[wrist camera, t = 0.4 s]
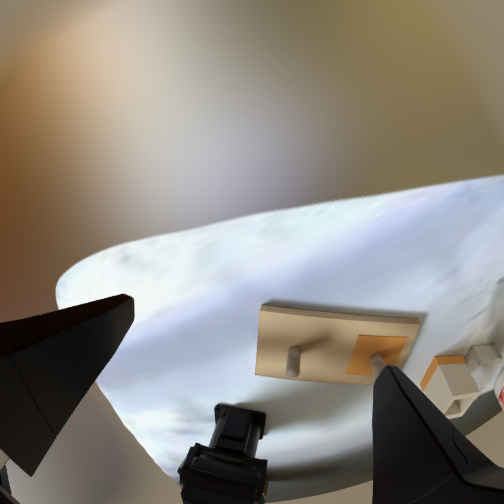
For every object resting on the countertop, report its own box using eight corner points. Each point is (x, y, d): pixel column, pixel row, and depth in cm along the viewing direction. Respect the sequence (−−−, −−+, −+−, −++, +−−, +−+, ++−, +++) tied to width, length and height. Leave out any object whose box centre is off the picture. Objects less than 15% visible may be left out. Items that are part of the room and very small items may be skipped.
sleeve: (447, 381, 24) (461, 417, 18) (419, 383, 24) (432, 422, 19) (462, 355, 22) (481, 390, 17) (434, 356, 23) (452, 395, 17)
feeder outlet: (469, 385, 24) (475, 400, 21) (447, 388, 24) (454, 404, 22) (493, 344, 21) (503, 358, 18) (472, 345, 22) (481, 360, 19)
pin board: (391, 378, 25) (398, 404, 21) (256, 368, 27) (249, 396, 23) (417, 318, 22) (431, 343, 18) (261, 304, 24) (253, 331, 20)
